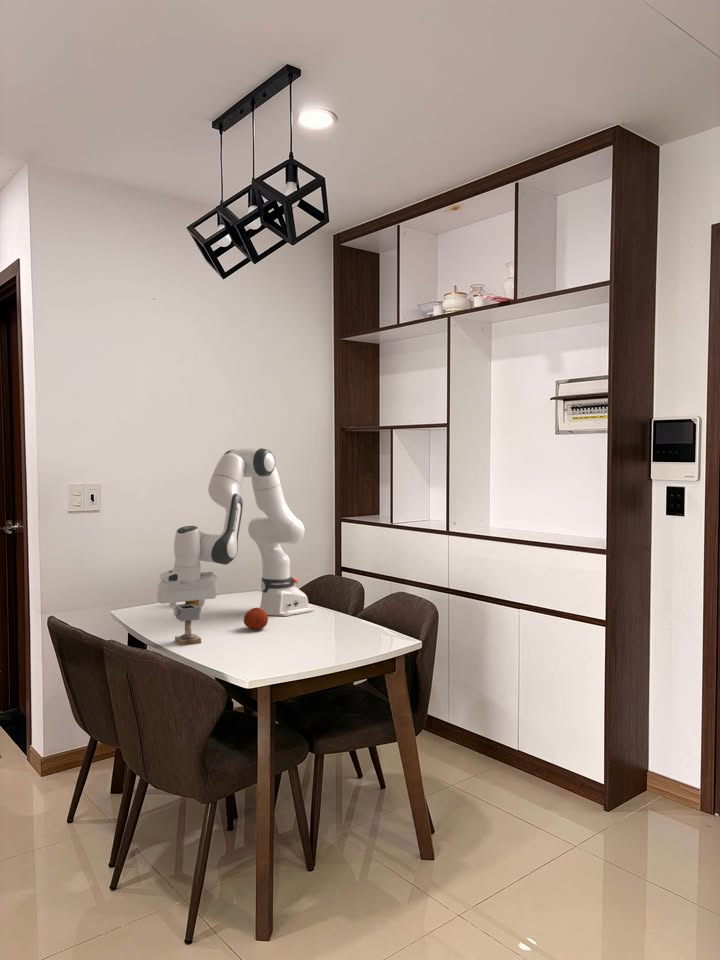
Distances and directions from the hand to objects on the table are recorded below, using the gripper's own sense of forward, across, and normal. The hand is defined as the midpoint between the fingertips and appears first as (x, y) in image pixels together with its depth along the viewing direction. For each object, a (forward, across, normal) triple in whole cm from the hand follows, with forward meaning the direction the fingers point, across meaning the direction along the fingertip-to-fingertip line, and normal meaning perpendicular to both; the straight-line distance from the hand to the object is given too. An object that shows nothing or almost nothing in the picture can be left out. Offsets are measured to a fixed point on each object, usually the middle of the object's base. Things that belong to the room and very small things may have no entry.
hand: (187, 613), depth 254 cm
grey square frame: (+2, 0, 0) cm, 2 cm away
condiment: (+10, -18, -55) cm, 59 cm away
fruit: (+10, -27, -5) cm, 29 cm away
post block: (+10, 0, 0) cm, 10 cm away
